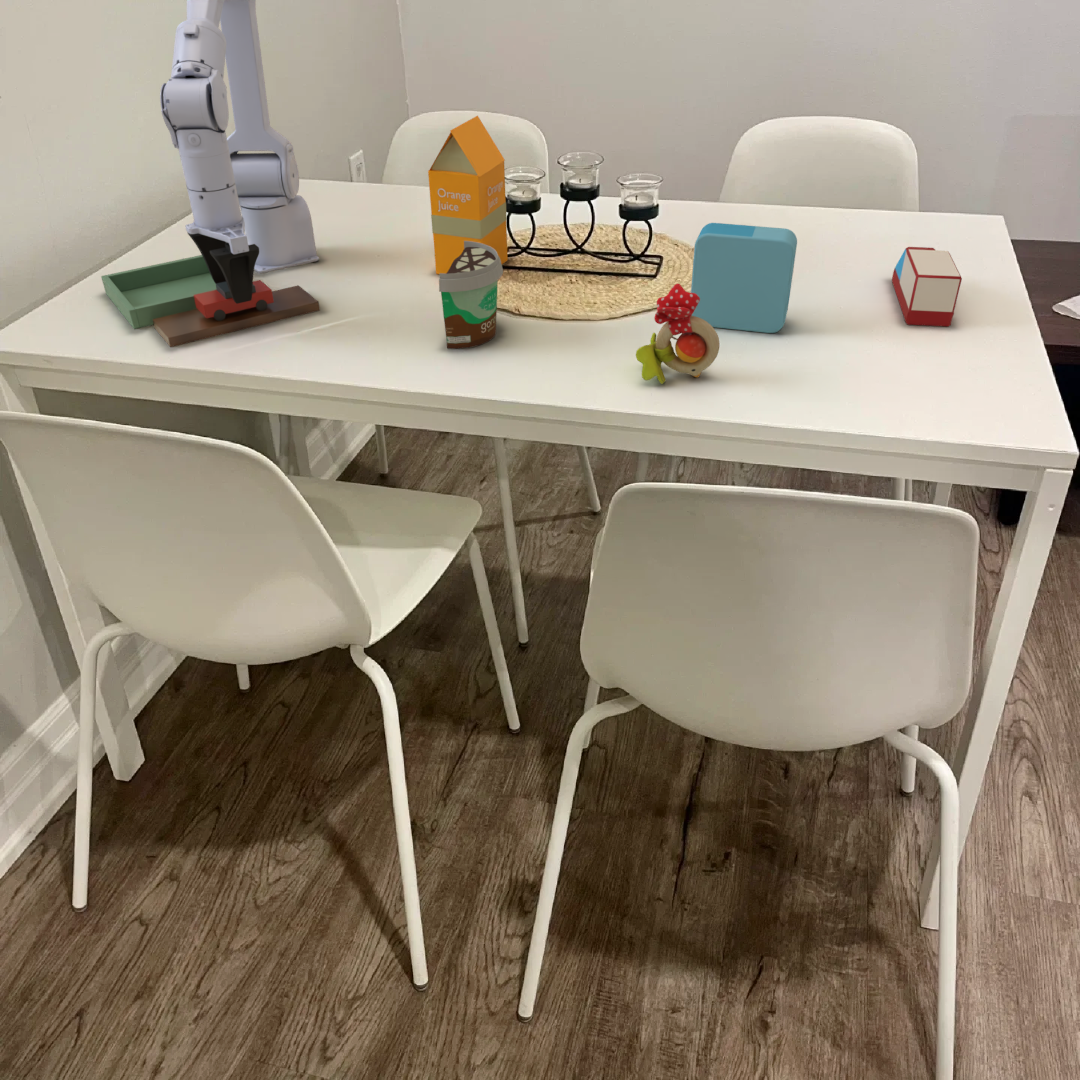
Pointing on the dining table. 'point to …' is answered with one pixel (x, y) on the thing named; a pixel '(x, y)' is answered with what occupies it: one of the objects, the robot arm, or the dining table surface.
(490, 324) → the food container
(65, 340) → the dining table surface
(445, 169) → the orange juice
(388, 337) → the dining table surface
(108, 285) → the tray
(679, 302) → the bird rattle
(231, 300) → the toy car
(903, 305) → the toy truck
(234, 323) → the board
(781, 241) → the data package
